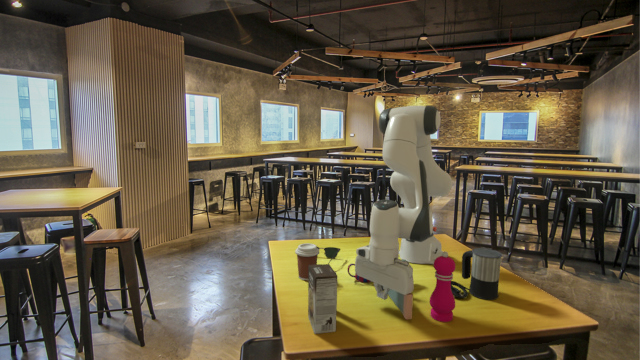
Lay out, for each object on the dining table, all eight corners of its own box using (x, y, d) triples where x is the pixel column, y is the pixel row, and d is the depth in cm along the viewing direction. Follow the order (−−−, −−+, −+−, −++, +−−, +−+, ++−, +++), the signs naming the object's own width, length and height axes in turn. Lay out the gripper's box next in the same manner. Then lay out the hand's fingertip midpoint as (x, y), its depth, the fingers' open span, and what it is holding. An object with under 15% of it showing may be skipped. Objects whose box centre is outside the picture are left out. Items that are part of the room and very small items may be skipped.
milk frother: (503, 294, 121) (506, 252, 119) (483, 309, 111) (487, 263, 109) (462, 282, 132) (465, 242, 130) (441, 294, 121) (443, 252, 119)
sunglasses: (291, 268, 143) (291, 256, 142) (304, 255, 159) (304, 244, 159) (332, 273, 139) (332, 260, 138) (340, 258, 155) (340, 247, 155)
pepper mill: (430, 309, 111) (433, 246, 108) (454, 313, 108) (459, 249, 105) (427, 319, 104) (431, 253, 101) (453, 325, 101) (458, 257, 99)
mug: (375, 282, 130) (376, 264, 130) (349, 283, 129) (349, 265, 128) (370, 275, 137) (370, 257, 136) (344, 276, 135) (345, 259, 134)
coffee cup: (316, 271, 140) (316, 241, 138) (321, 280, 131) (322, 249, 129) (293, 273, 138) (293, 243, 136) (296, 282, 129) (297, 250, 127)
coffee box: (307, 317, 105) (307, 264, 102) (328, 315, 106) (329, 263, 104) (313, 334, 96) (314, 276, 94) (336, 331, 97) (338, 275, 95)
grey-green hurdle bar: (382, 288, 123) (383, 268, 122) (387, 287, 123) (388, 267, 122) (405, 319, 102) (406, 295, 101) (411, 318, 103) (412, 294, 102)
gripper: (419, 261, 102) (417, 307, 104) (365, 244, 117) (364, 284, 119) (406, 266, 98) (404, 314, 100) (352, 248, 113) (351, 289, 115)
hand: (382, 297), depth 110 cm, fingers closed
